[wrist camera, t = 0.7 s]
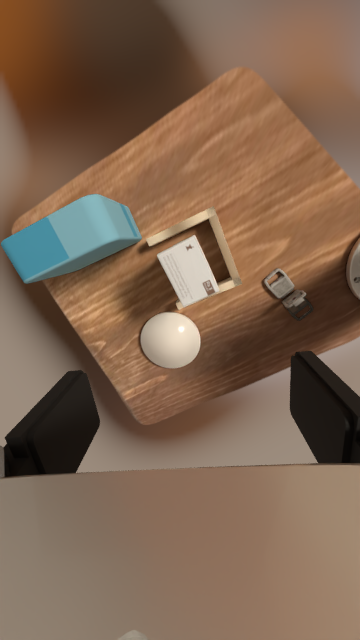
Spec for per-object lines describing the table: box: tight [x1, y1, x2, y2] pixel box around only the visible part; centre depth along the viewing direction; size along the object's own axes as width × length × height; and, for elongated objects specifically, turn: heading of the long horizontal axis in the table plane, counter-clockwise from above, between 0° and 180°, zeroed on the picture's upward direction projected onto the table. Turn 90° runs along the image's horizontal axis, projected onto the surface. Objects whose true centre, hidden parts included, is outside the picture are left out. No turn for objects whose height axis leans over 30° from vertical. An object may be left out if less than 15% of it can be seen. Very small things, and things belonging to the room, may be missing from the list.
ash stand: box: [146, 206, 242, 310], centre depth 33 cm, size 10×10×2 cm
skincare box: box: [157, 235, 219, 307], centre depth 28 cm, size 6×4×12 cm
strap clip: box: [264, 268, 313, 321], centre depth 33 cm, size 8×3×4 cm, turn 45°
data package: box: [1, 194, 142, 284], centre depth 29 cm, size 12×4×12 cm, turn 113°
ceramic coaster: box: [141, 311, 200, 368], centre depth 38 cm, size 10×10×1 cm
